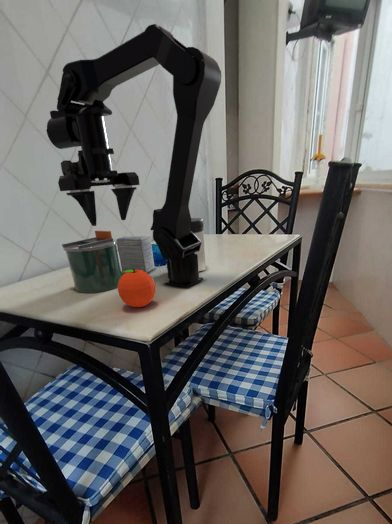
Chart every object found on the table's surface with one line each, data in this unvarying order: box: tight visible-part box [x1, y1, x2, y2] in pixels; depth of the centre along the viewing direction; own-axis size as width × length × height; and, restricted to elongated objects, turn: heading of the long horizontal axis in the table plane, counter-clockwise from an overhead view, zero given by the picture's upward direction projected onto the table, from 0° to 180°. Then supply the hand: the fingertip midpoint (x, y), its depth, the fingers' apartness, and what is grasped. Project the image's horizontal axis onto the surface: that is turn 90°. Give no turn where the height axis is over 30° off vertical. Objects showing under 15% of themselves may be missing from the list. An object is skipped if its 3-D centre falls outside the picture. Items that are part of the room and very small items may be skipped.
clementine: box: [114, 269, 156, 308], centre depth 58 cm, size 8×7×7 cm
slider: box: [81, 230, 113, 244], centre depth 71 cm, size 5×5×2 cm
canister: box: [61, 236, 123, 294], centre depth 72 cm, size 12×12×10 cm
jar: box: [191, 217, 207, 272], centre depth 79 cm, size 9×8×12 cm
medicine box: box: [115, 235, 156, 273], centre depth 82 cm, size 8×4×9 cm, turn 66°
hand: (109, 222), depth 73 cm, fingers open, 9 cm apart
